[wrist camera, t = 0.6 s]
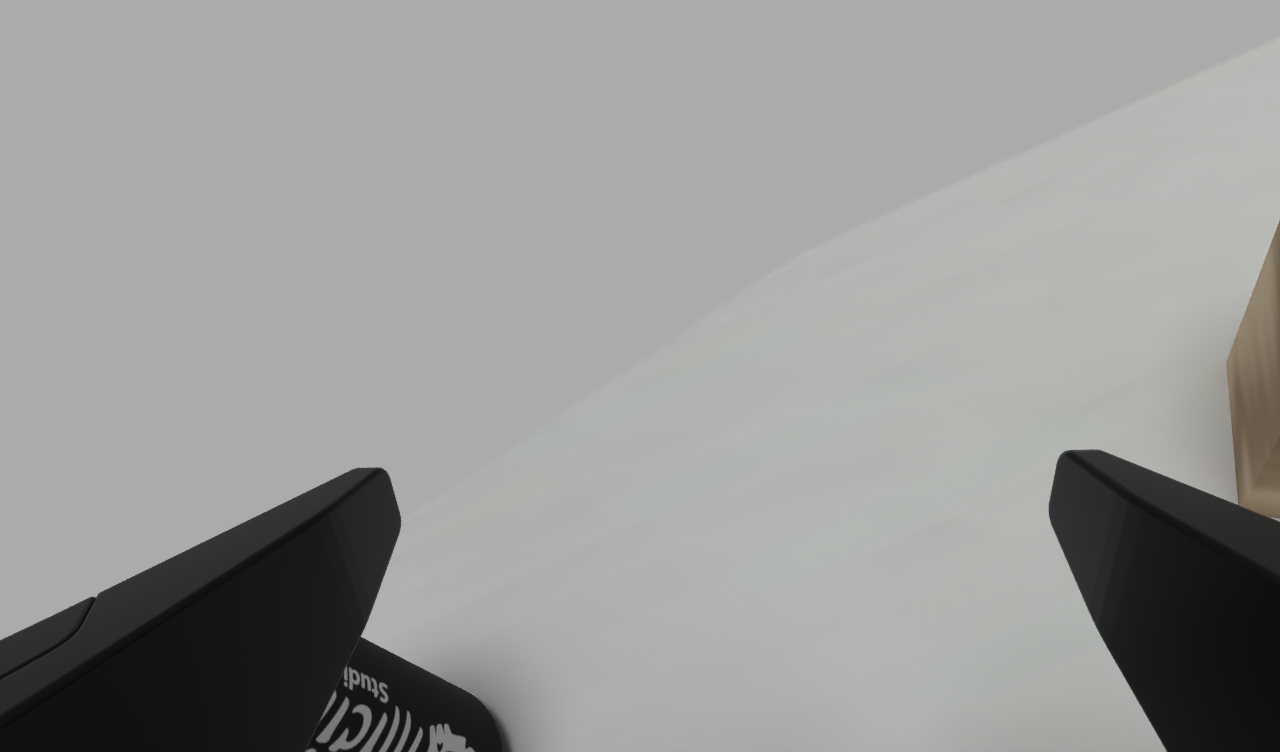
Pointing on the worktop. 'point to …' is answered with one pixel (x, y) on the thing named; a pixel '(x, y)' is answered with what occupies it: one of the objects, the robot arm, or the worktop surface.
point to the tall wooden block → (1258, 392)
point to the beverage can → (400, 710)
